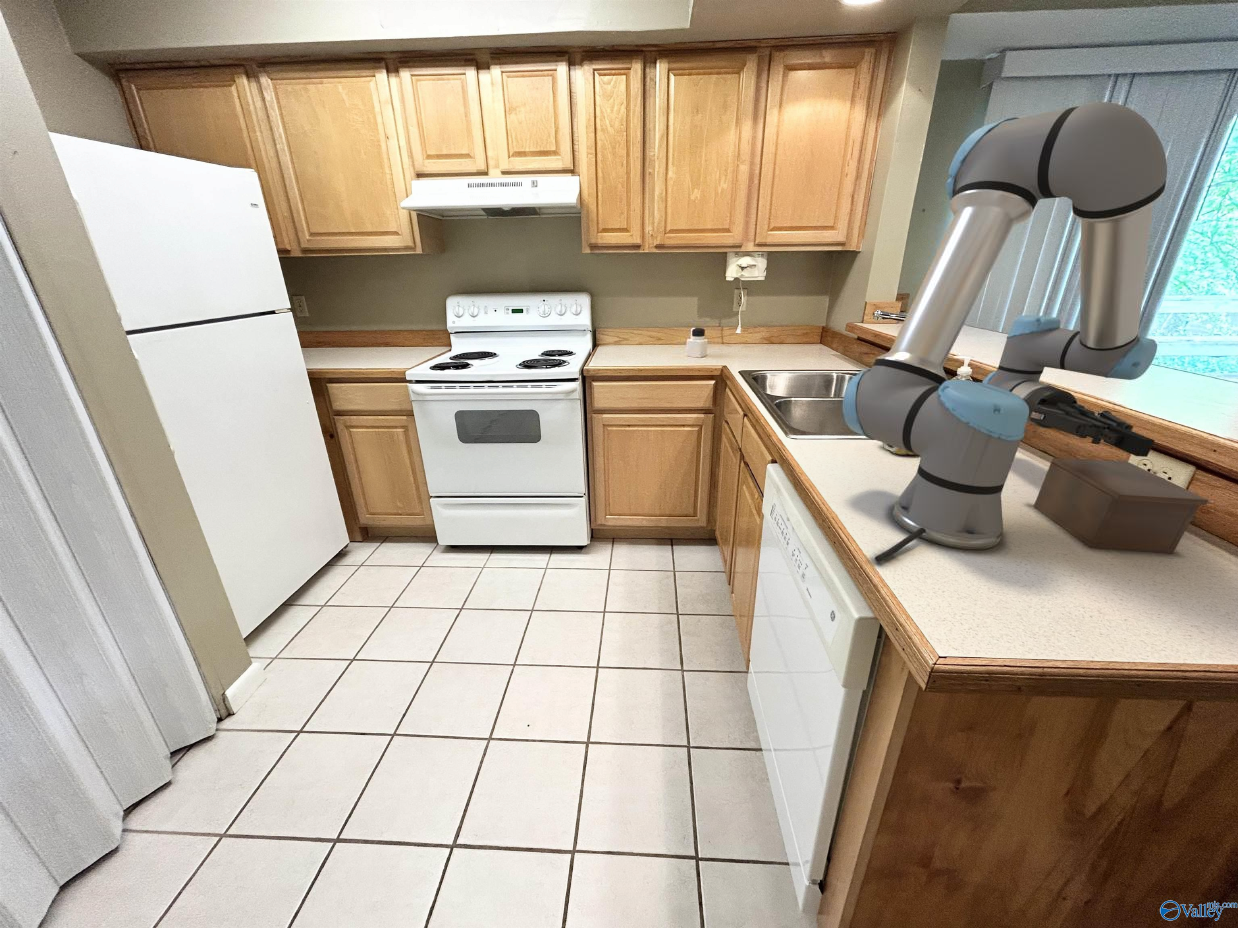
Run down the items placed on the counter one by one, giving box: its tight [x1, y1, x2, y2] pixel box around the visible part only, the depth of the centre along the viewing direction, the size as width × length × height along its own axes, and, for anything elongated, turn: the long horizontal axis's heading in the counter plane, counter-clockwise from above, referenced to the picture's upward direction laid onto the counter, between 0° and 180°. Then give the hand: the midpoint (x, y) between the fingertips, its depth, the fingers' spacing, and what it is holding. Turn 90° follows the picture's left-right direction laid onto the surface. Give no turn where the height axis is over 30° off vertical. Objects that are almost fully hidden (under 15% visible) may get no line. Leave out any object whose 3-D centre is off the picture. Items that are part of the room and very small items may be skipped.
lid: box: [1051, 456, 1209, 506], centre depth 77 cm, size 14×12×1 cm
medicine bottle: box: [685, 327, 709, 359], centre depth 214 cm, size 7×7×12 cm
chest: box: [1033, 461, 1200, 554], centre depth 80 cm, size 14×12×9 cm
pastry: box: [881, 442, 916, 456], centre depth 112 cm, size 9×7×4 cm
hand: (1145, 448), depth 74 cm, fingers closed
